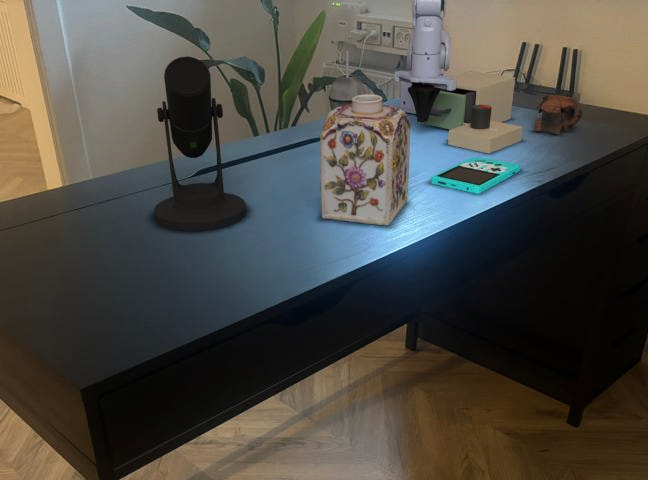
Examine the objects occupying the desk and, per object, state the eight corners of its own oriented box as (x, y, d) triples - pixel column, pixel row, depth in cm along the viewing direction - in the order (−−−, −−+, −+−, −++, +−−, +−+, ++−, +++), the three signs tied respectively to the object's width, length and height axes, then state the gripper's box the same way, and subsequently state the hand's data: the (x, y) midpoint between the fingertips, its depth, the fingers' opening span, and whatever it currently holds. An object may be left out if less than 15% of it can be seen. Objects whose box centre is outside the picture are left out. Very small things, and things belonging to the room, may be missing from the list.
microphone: (155, 238, 113) (130, 64, 99) (154, 200, 127) (133, 44, 114) (252, 229, 115) (240, 58, 102) (240, 193, 129) (228, 40, 116)
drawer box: (475, 131, 161) (479, 87, 157) (431, 122, 169) (433, 80, 164) (510, 118, 170) (515, 77, 165) (466, 110, 177) (470, 70, 172)
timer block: (445, 144, 153) (446, 128, 152) (478, 132, 161) (479, 117, 159) (489, 153, 147) (490, 137, 145) (520, 141, 154) (522, 125, 153)
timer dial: (466, 127, 153) (468, 105, 151) (477, 123, 155) (479, 102, 153) (482, 130, 150) (484, 108, 148) (493, 126, 153) (495, 105, 151)
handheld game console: (521, 171, 137) (522, 164, 136) (479, 194, 127) (480, 187, 126) (473, 161, 143) (474, 154, 142) (429, 183, 132) (430, 176, 132)
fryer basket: (447, 136, 155) (449, 100, 151) (406, 127, 162) (407, 92, 158) (493, 119, 166) (497, 86, 162) (453, 112, 172) (456, 79, 169)
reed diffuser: (366, 152, 149) (368, 46, 138) (364, 163, 143) (366, 53, 132) (330, 152, 150) (329, 46, 139) (327, 163, 144) (326, 53, 133)
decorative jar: (408, 202, 124) (414, 91, 114) (390, 227, 115) (394, 108, 105) (341, 195, 127) (341, 87, 118) (318, 219, 118) (316, 103, 109)
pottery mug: (520, 131, 162) (531, 94, 162) (548, 145, 168) (558, 109, 167) (564, 128, 152) (575, 88, 152) (592, 143, 157) (603, 104, 157)
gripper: (386, 51, 151) (384, 119, 158) (444, 59, 142) (439, 130, 150) (407, 46, 155) (404, 113, 162) (465, 54, 147) (459, 123, 154)
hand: (422, 121), depth 156 cm, fingers closed, pressing on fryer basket
